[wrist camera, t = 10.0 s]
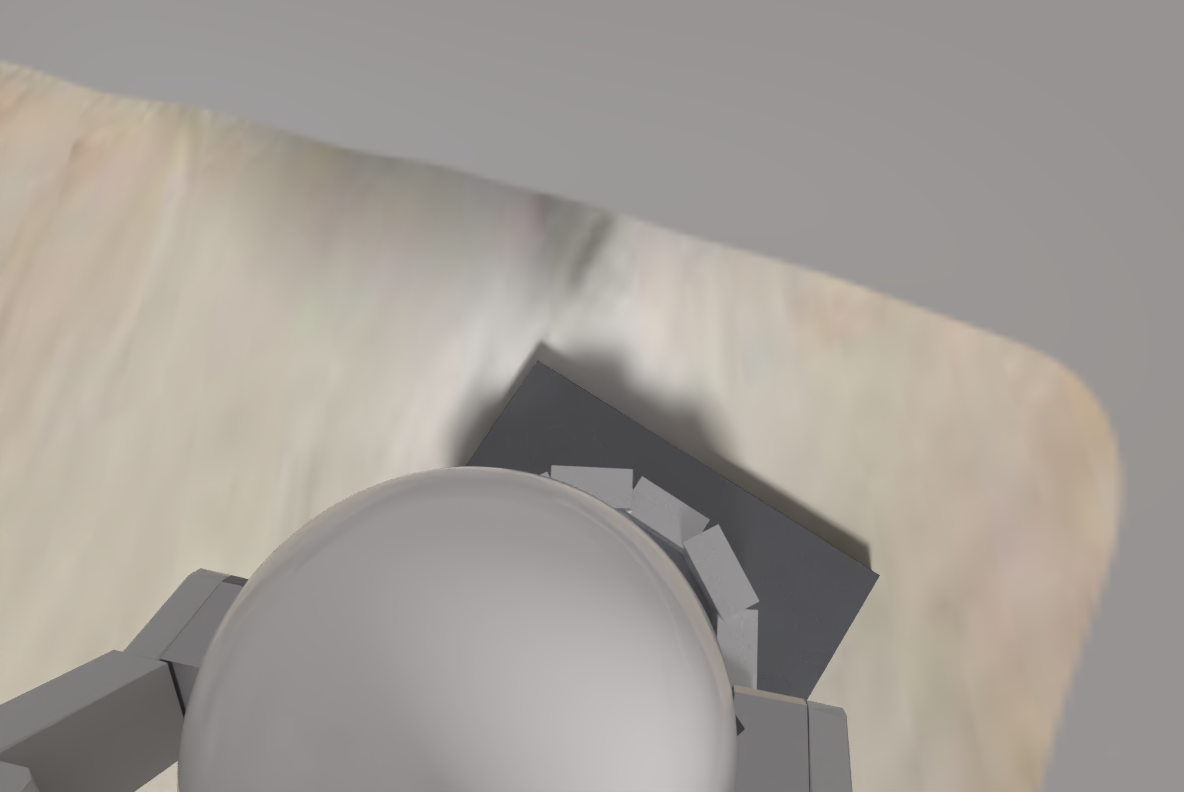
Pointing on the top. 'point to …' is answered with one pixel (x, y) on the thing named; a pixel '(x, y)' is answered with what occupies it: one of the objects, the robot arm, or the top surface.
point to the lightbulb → (463, 652)
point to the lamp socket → (694, 531)
